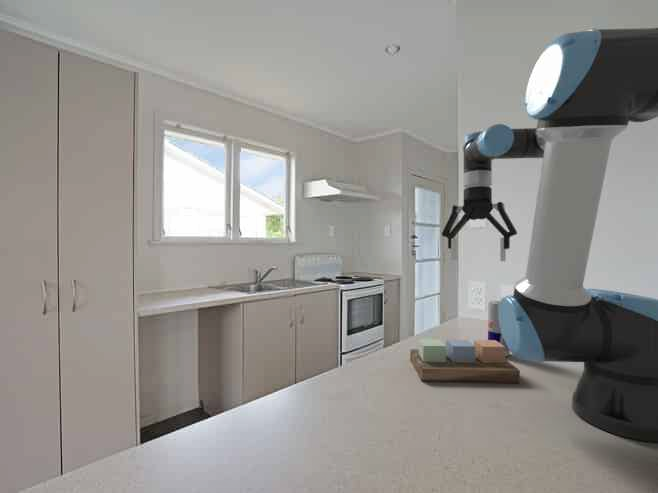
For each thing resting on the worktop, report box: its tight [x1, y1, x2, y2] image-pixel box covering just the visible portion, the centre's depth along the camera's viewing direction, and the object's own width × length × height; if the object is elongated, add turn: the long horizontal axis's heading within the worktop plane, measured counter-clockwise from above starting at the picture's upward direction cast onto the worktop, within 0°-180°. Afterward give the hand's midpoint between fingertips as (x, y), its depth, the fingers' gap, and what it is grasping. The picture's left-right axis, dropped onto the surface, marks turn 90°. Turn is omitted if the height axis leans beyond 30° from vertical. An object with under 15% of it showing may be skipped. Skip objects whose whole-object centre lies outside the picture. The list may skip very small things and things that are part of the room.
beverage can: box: [487, 300, 511, 357], centre depth 98 cm, size 6×6×15 cm
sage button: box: [418, 338, 446, 362], centre depth 86 cm, size 5×5×4 cm
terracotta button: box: [473, 339, 506, 363], centre depth 86 cm, size 5×5×4 cm
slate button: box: [445, 339, 476, 363], centre depth 86 cm, size 5×5×4 cm
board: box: [409, 348, 521, 384], centre depth 86 cm, size 14×22×3 cm, turn 87°
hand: (477, 260), depth 101 cm, fingers open, 13 cm apart
